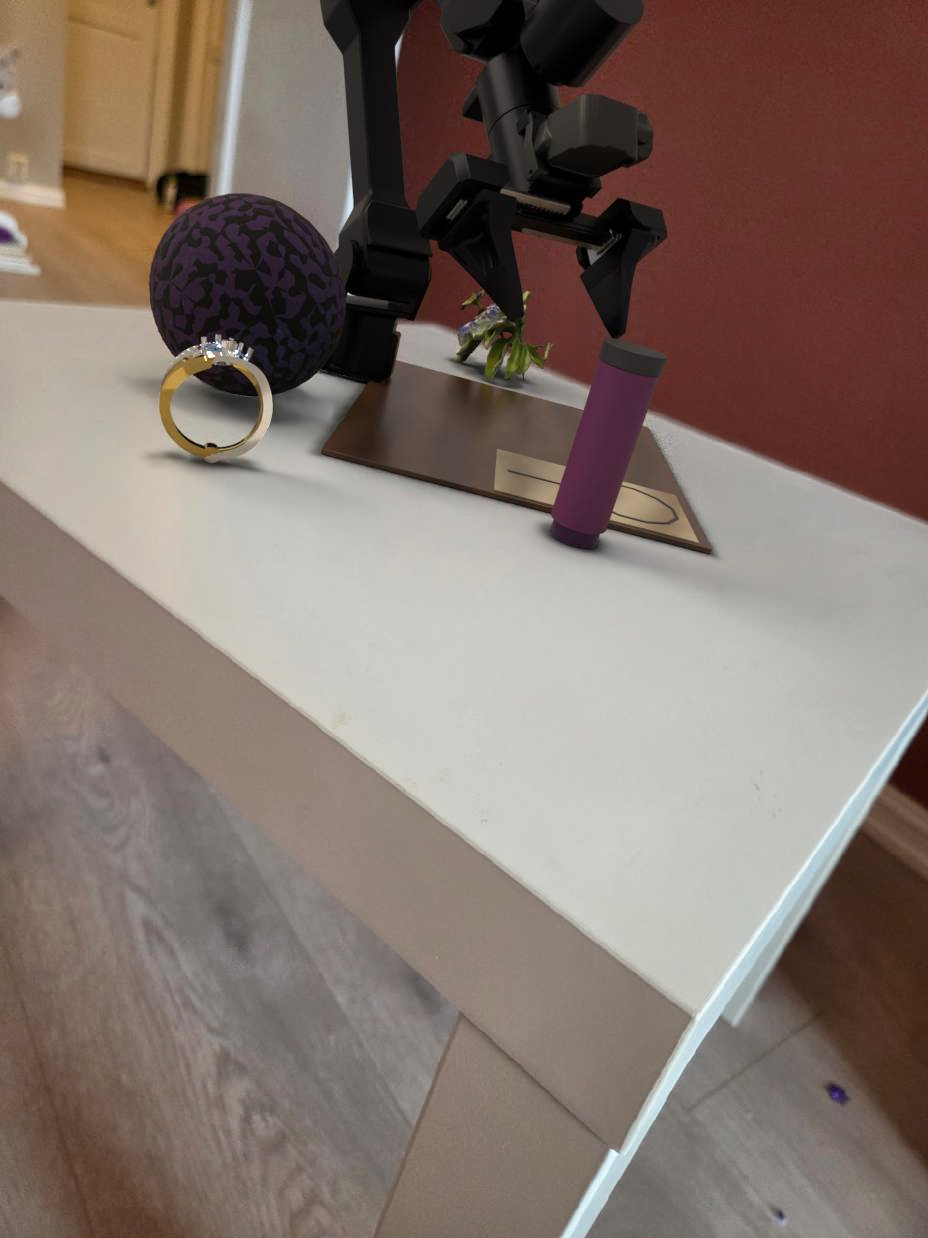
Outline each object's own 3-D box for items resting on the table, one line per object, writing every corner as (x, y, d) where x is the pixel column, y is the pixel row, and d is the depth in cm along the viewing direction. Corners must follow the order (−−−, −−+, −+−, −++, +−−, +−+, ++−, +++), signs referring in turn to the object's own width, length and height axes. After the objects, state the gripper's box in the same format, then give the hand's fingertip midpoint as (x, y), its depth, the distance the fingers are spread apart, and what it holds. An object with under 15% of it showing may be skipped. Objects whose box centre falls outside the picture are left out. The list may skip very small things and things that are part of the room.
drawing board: (320, 453, 65) (321, 446, 64) (385, 360, 97) (386, 355, 96) (710, 554, 66) (713, 547, 66) (647, 430, 99) (648, 425, 98)
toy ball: (182, 351, 79) (200, 169, 73) (344, 395, 80) (377, 219, 73) (108, 386, 66) (122, 167, 59) (303, 439, 66) (339, 228, 60)
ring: (261, 459, 60) (278, 342, 57) (266, 476, 58) (284, 354, 54) (153, 444, 58) (164, 320, 54) (153, 461, 55) (165, 333, 52)
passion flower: (451, 406, 108) (452, 313, 109) (539, 410, 109) (539, 317, 110) (458, 370, 97) (460, 267, 98) (556, 375, 98) (556, 272, 99)
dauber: (545, 541, 60) (607, 344, 54) (543, 519, 64) (601, 333, 58) (604, 556, 60) (672, 362, 54) (599, 534, 64) (662, 350, 58)
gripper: (481, -1, 52) (533, 232, 50) (696, 87, 63) (749, 284, 60) (394, 131, 61) (434, 334, 59) (595, 189, 72) (637, 364, 69)
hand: (570, 328), depth 61 cm, fingers open, 9 cm apart
